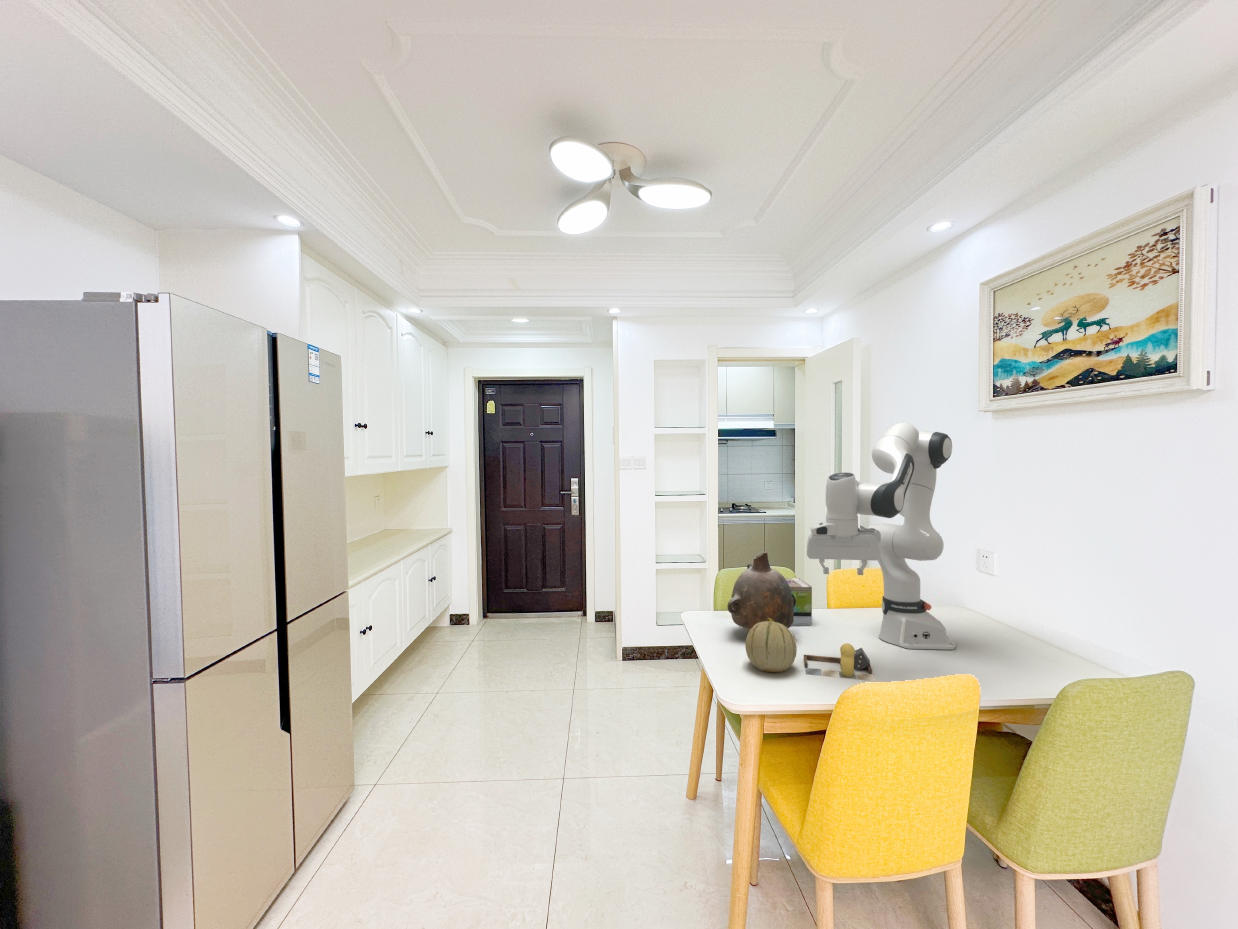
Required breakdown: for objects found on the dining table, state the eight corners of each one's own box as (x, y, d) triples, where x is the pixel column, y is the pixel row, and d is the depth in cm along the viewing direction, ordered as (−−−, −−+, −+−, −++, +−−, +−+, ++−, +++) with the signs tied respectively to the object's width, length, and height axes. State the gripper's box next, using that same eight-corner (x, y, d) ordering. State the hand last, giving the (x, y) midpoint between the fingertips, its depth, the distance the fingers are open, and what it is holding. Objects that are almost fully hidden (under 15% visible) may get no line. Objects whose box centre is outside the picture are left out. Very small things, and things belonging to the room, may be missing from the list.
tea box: (812, 626, 199) (812, 586, 199) (785, 626, 199) (785, 586, 199) (800, 614, 214) (799, 577, 214) (774, 614, 214) (774, 577, 214)
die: (857, 665, 159) (870, 659, 157) (857, 670, 155) (870, 664, 153) (848, 653, 159) (861, 647, 158) (849, 658, 156) (862, 651, 154)
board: (868, 668, 159) (868, 660, 159) (875, 685, 147) (874, 676, 147) (803, 662, 164) (803, 654, 164) (805, 678, 152) (805, 669, 152)
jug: (753, 621, 205) (753, 543, 204) (807, 634, 190) (806, 549, 189) (716, 637, 188) (715, 551, 187) (771, 652, 173) (770, 559, 172)
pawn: (854, 678, 149) (854, 647, 149) (839, 676, 151) (840, 645, 150) (854, 673, 153) (855, 642, 152) (840, 671, 154) (840, 640, 154)
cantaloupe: (760, 684, 149) (760, 630, 149) (736, 664, 163) (736, 615, 163) (807, 678, 152) (807, 625, 152) (780, 659, 167) (780, 611, 166)
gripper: (878, 526, 159) (879, 573, 160) (805, 526, 165) (806, 570, 165) (882, 529, 153) (883, 578, 154) (806, 529, 159) (807, 575, 159)
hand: (843, 574), depth 160 cm, fingers open, 8 cm apart
